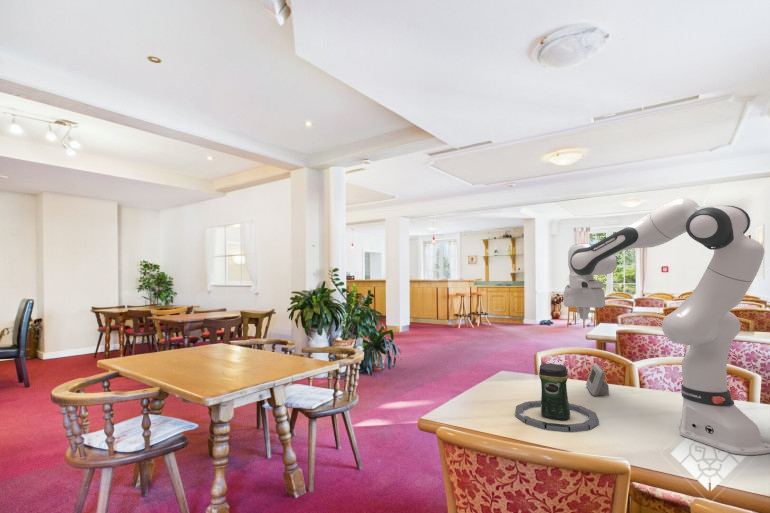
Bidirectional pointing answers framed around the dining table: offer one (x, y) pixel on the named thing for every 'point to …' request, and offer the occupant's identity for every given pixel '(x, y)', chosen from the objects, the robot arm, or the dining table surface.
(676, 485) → the dining table surface
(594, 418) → the grey segmented ring
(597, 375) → the digital clock
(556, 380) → the coffee jar
